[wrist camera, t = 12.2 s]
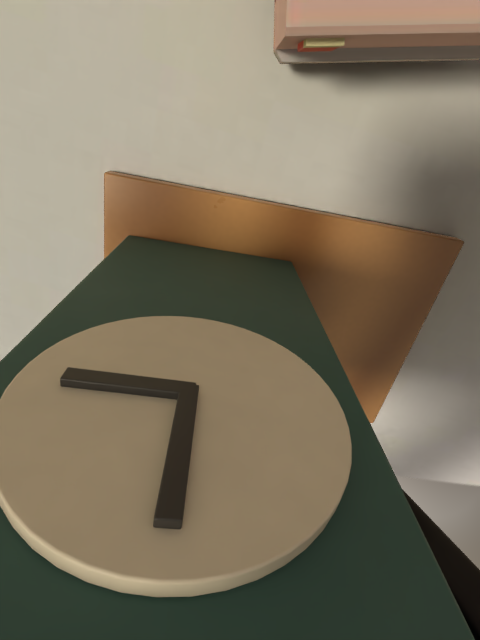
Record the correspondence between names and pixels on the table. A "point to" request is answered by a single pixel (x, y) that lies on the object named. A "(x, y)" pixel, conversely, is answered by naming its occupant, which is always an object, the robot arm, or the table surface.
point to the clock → (200, 468)
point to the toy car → (376, 30)
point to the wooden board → (306, 264)
